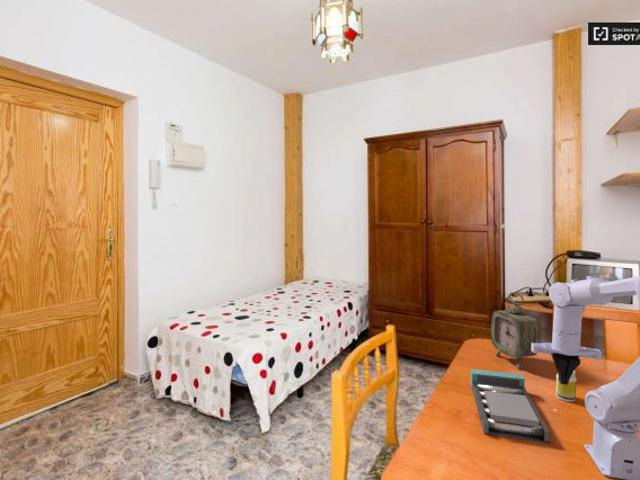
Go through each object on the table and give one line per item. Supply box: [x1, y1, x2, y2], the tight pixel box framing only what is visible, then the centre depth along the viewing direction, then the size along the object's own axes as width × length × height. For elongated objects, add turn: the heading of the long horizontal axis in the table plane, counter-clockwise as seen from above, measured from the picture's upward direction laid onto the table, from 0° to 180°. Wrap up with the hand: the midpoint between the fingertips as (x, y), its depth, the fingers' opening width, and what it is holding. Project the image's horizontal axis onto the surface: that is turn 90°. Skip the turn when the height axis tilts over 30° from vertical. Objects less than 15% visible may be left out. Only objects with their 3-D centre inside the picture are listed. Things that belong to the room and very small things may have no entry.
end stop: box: [470, 368, 526, 389], centre depth 105 cm, size 4×14×5 cm, turn 73°
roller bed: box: [471, 381, 551, 444], centre depth 93 cm, size 22×14×3 cm, turn 163°
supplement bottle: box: [555, 369, 577, 402], centre depth 100 cm, size 5×5×8 cm
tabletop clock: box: [490, 291, 542, 370], centre depth 124 cm, size 14×9×25 cm, turn 10°
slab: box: [484, 391, 539, 427], centre depth 89 cm, size 12×10×1 cm
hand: (563, 382), depth 88 cm, fingers closed
